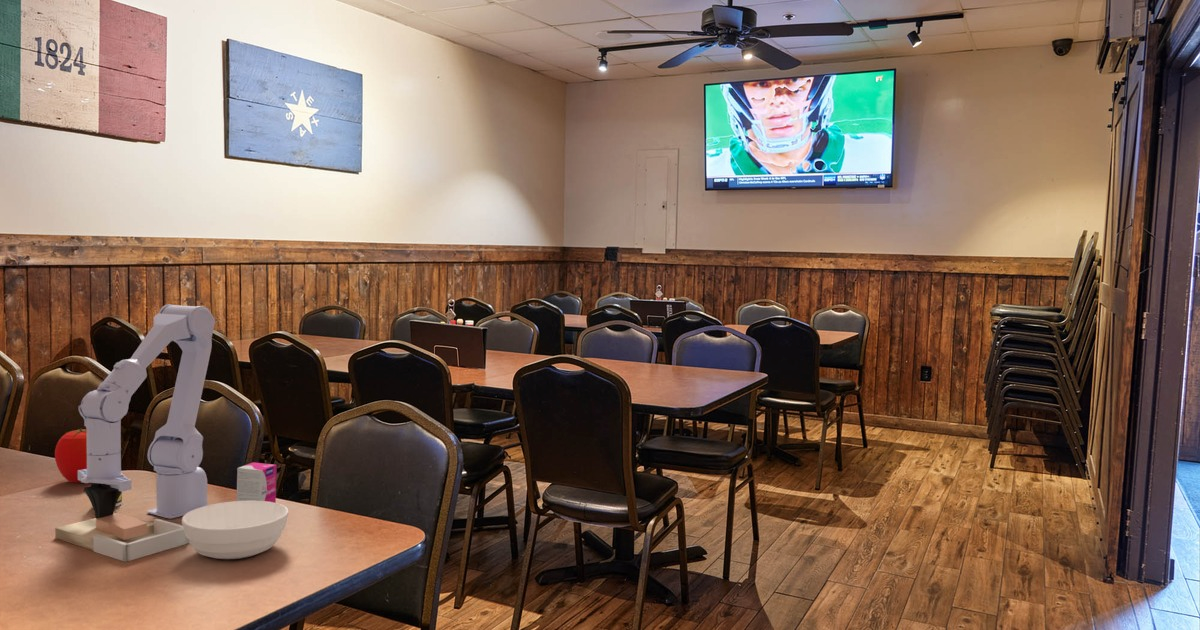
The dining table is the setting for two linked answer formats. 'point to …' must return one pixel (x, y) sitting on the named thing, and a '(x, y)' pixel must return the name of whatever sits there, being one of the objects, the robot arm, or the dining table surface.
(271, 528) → the bowl
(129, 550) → the tray
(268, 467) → the supplement box
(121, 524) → the tile
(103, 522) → the tile
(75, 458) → the tomato
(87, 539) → the plate
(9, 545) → the dining table surface
